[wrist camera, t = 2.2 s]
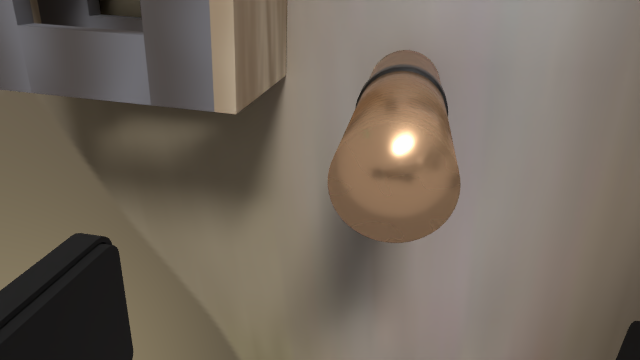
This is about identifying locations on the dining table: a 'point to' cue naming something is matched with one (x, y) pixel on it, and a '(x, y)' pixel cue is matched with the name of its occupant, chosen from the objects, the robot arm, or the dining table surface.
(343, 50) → the dining table surface
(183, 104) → the collar stand
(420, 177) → the tan cylinder
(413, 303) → the dining table surface
